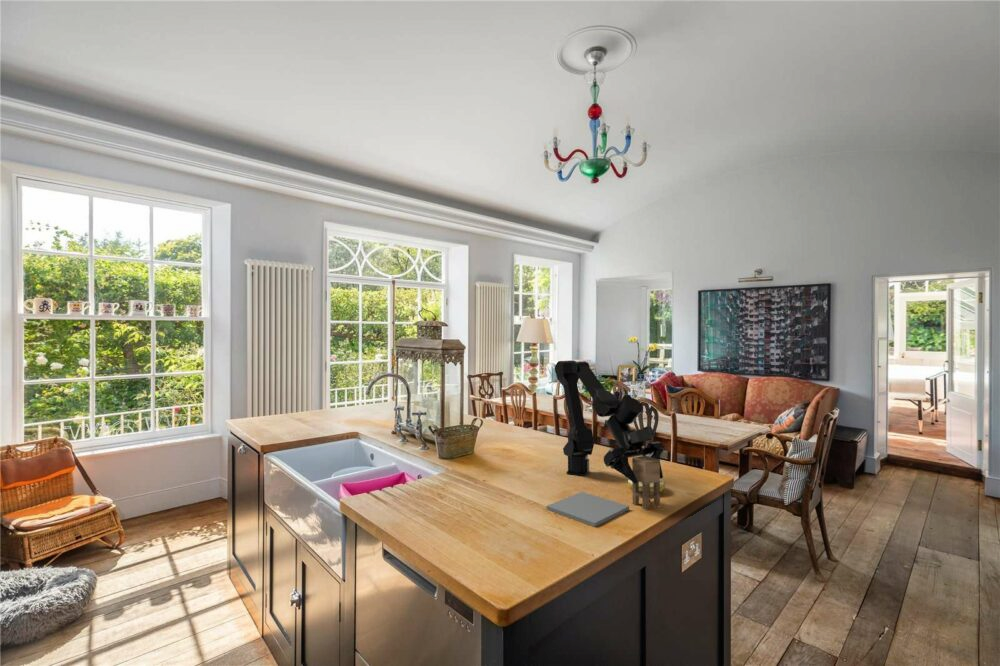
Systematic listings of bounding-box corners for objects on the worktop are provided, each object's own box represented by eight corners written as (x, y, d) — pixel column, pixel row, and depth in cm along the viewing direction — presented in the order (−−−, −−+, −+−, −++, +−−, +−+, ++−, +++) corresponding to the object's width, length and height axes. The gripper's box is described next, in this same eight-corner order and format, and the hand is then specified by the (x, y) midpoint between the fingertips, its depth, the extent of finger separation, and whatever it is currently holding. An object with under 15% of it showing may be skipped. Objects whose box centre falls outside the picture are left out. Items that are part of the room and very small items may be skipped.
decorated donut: (648, 483, 149) (648, 471, 149) (672, 493, 139) (671, 481, 139) (621, 487, 146) (621, 475, 146) (643, 498, 136) (643, 485, 136)
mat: (546, 509, 127) (546, 505, 127) (582, 494, 138) (581, 491, 138) (594, 527, 116) (594, 523, 116) (629, 509, 127) (629, 506, 127)
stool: (632, 503, 131) (632, 457, 131) (646, 500, 133) (646, 455, 133) (645, 509, 126) (645, 462, 126) (660, 506, 129) (659, 460, 129)
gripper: (609, 420, 130) (636, 469, 120) (659, 414, 137) (689, 460, 127) (592, 442, 137) (617, 491, 127) (641, 435, 145) (668, 481, 135)
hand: (649, 480), depth 129 cm, fingers open, 9 cm apart
